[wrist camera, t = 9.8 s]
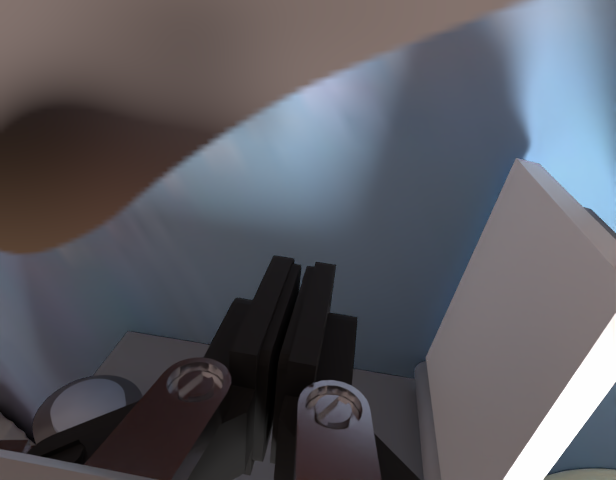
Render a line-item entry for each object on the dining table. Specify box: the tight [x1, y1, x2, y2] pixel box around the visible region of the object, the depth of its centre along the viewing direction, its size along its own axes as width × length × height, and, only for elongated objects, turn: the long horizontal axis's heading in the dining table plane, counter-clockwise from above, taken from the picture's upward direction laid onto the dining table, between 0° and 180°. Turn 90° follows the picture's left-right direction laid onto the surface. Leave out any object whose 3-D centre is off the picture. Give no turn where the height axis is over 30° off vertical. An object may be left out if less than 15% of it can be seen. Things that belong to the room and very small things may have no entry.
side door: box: [414, 158, 616, 480], centre depth 14 cm, size 10×2×8 cm, turn 168°
